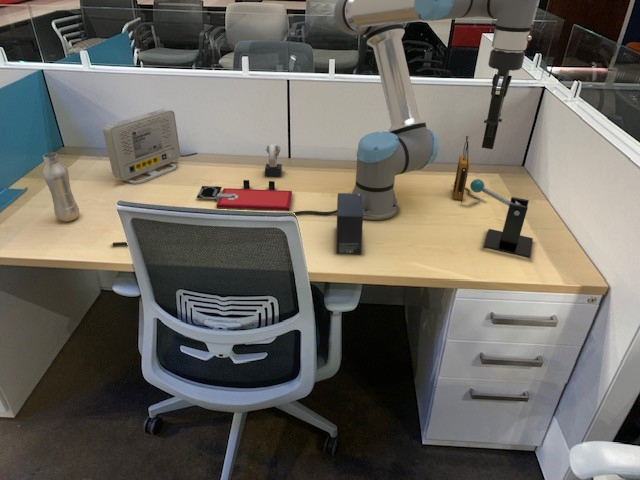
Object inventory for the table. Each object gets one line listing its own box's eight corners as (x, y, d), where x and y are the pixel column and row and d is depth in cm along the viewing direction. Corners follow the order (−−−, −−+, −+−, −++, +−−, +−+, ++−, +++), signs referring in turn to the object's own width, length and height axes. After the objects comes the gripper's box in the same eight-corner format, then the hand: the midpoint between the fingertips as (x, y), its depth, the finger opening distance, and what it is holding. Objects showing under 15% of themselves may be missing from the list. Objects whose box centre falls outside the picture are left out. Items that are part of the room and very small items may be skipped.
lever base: (482, 250, 131) (493, 205, 124) (487, 232, 139) (498, 190, 132) (529, 260, 127) (543, 215, 120) (531, 242, 135) (544, 199, 128)
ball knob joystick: (466, 190, 128) (473, 179, 126) (468, 185, 131) (475, 174, 129) (518, 219, 126) (526, 208, 124) (519, 213, 129) (527, 202, 127)
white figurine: (282, 169, 174) (281, 140, 168) (280, 179, 167) (279, 149, 161) (266, 169, 174) (265, 140, 168) (264, 178, 167) (263, 149, 161)
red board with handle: (203, 185, 161) (192, 207, 148) (203, 178, 159) (191, 199, 147) (292, 189, 161) (289, 211, 148) (292, 181, 159) (289, 203, 147)
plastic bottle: (57, 226, 138) (37, 161, 127) (56, 215, 143) (36, 152, 132) (82, 221, 140) (63, 157, 130) (80, 211, 145) (62, 149, 135)
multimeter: (486, 208, 151) (500, 149, 141) (454, 205, 153) (465, 146, 142) (482, 189, 164) (494, 132, 153) (452, 186, 165) (462, 130, 155)
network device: (171, 159, 181) (162, 106, 170) (186, 164, 176) (179, 111, 166) (111, 181, 163) (97, 124, 152) (126, 188, 159) (114, 130, 148)
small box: (335, 229, 139) (337, 192, 133) (359, 229, 139) (362, 192, 133) (335, 254, 128) (337, 215, 122) (361, 255, 128) (364, 215, 122)
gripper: (523, 56, 103) (499, 158, 116) (527, 46, 113) (505, 141, 126) (487, 53, 106) (468, 153, 118) (494, 43, 116) (476, 137, 129)
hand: (487, 147), depth 122 cm, fingers closed
